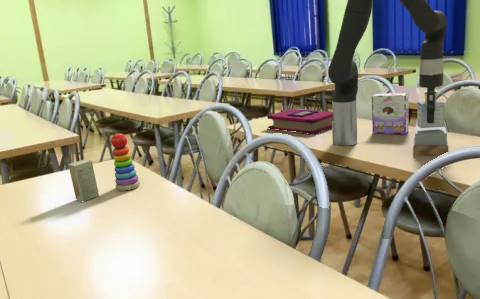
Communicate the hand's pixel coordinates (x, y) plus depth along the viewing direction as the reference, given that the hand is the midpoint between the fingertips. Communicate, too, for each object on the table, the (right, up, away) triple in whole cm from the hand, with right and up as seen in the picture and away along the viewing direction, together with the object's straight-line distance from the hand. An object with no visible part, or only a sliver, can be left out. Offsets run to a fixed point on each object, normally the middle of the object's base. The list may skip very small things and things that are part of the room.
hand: (430, 120), depth 156 cm
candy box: (-3, -3, +33) cm, 34 cm away
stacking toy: (-104, -23, -6) cm, 107 cm away
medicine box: (0, -2, +1) cm, 2 cm away
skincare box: (-115, -26, -13) cm, 119 cm away
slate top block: (+1, -7, +2) cm, 7 cm away
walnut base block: (+1, -11, +3) cm, 11 cm away
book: (-36, 0, +59) cm, 69 cm away
